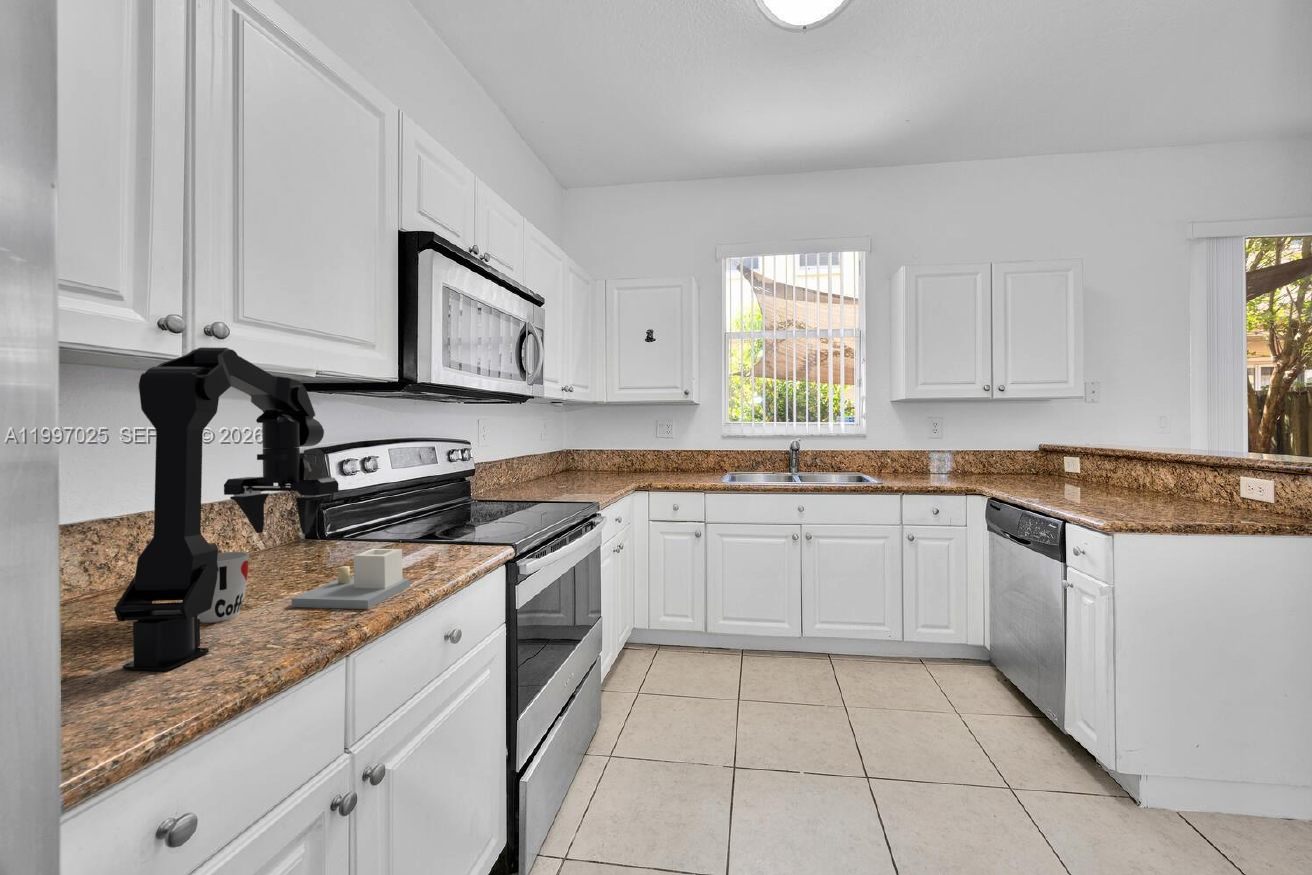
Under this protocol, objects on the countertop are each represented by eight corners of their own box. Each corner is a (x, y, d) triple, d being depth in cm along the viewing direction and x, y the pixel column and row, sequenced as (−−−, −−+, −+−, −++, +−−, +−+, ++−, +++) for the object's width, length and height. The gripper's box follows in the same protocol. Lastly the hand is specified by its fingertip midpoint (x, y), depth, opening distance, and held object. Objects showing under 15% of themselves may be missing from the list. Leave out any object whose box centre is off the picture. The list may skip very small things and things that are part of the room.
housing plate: (368, 608, 98) (367, 582, 98) (291, 606, 100) (291, 581, 99) (410, 586, 112) (409, 563, 112) (342, 584, 113) (342, 562, 113)
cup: (216, 627, 89) (215, 563, 89) (174, 624, 91) (173, 561, 91) (261, 611, 97) (260, 552, 97) (222, 608, 99) (221, 550, 99)
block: (385, 588, 105) (384, 556, 105) (354, 587, 106) (353, 555, 106) (402, 579, 111) (402, 549, 111) (373, 579, 112) (372, 548, 112)
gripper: (357, 446, 111) (357, 526, 112) (269, 446, 114) (270, 525, 114) (316, 448, 100) (317, 537, 101) (220, 448, 103) (221, 535, 103)
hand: (282, 533), depth 105 cm, fingers open, 9 cm apart
